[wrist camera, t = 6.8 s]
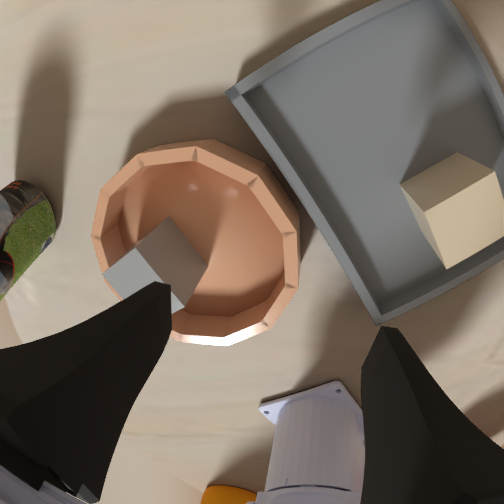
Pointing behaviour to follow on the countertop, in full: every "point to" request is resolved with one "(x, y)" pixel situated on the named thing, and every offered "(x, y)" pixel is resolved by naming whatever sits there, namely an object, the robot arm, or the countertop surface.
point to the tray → (379, 138)
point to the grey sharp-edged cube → (159, 264)
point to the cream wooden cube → (457, 207)
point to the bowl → (209, 233)
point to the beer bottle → (227, 495)
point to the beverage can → (22, 230)
